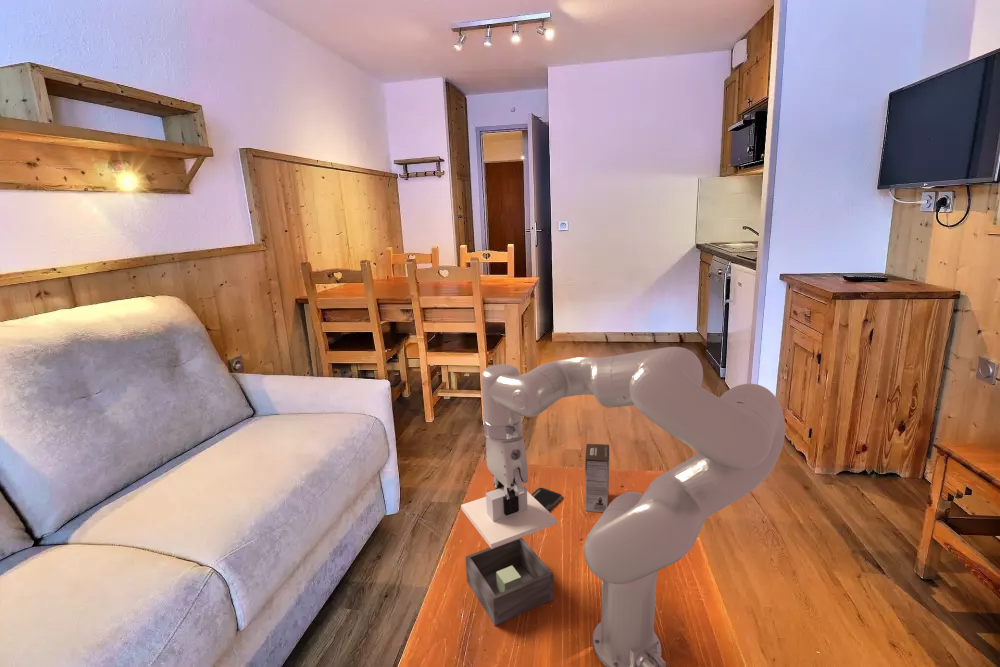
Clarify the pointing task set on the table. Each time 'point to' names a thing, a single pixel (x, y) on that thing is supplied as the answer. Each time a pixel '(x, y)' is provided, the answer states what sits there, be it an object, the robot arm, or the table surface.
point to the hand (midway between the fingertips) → (507, 507)
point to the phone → (547, 498)
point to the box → (519, 598)
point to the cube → (507, 578)
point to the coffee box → (596, 477)
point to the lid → (507, 517)
